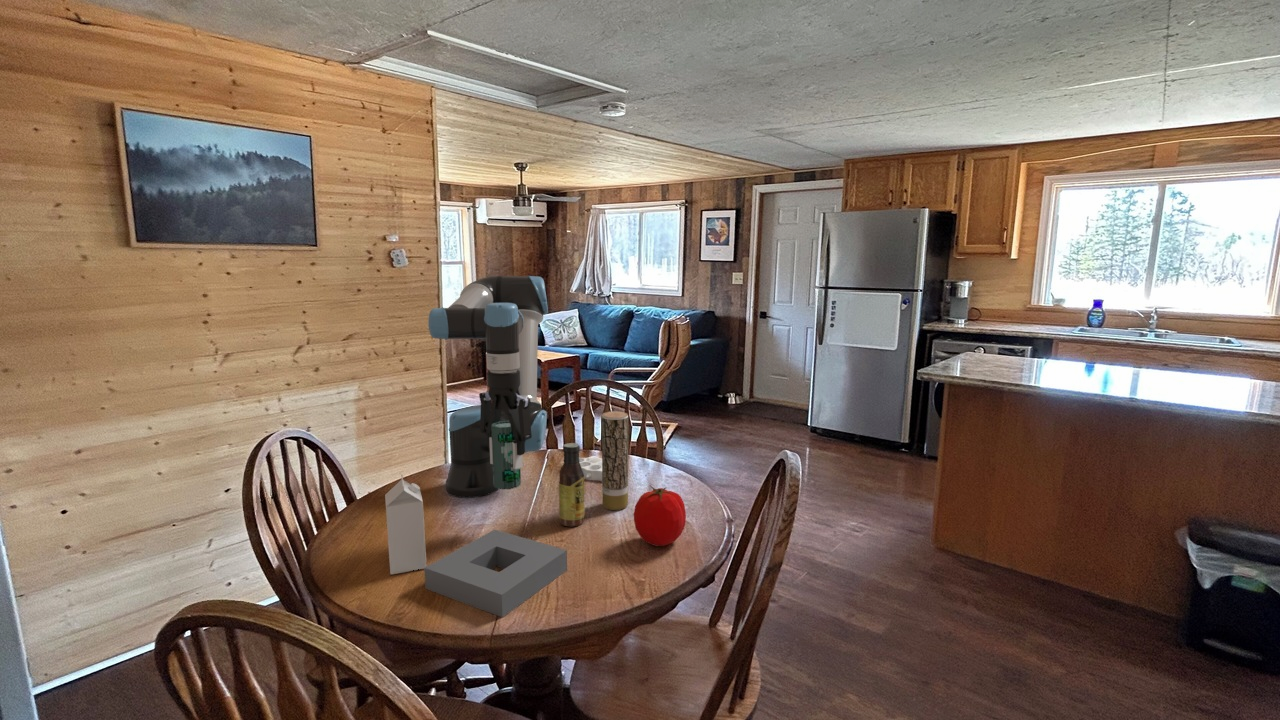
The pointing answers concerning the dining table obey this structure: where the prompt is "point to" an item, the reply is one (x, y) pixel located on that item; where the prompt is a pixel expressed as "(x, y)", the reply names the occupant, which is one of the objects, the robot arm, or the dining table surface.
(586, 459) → the white muffin tray
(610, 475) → the paper tube
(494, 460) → the can
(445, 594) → the socket block
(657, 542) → the tomato
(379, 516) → the dining table surface
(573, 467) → the sauce bottle
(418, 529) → the milk carton
